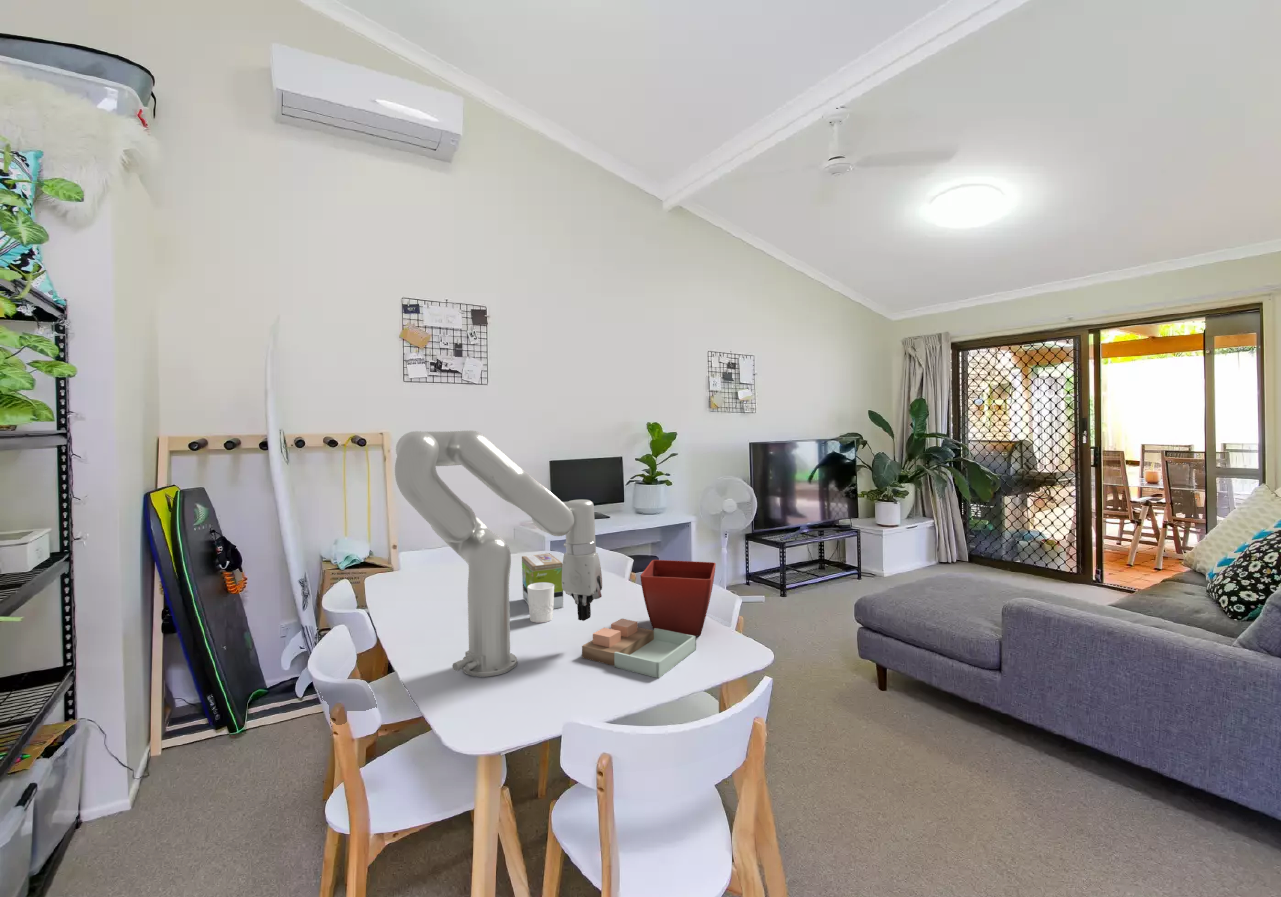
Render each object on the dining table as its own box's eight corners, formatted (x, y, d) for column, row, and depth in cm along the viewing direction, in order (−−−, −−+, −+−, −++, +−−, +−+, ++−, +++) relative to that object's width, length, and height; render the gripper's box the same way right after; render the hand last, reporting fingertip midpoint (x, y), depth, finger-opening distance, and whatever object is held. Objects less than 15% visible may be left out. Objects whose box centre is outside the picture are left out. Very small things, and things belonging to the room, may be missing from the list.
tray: (658, 678, 128) (658, 663, 128) (614, 667, 134) (614, 652, 134) (696, 649, 144) (695, 636, 144) (655, 641, 151) (654, 627, 151)
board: (615, 666, 135) (615, 653, 135) (582, 657, 140) (581, 645, 140) (653, 641, 150) (653, 630, 150) (622, 635, 155) (622, 624, 155)
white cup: (522, 621, 167) (521, 587, 167) (539, 613, 174) (538, 581, 174) (543, 625, 164) (543, 590, 163) (560, 617, 171) (559, 584, 170)
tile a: (609, 647, 139) (609, 637, 139) (592, 643, 141) (592, 633, 141) (620, 640, 143) (620, 631, 143) (604, 637, 146) (604, 627, 145)
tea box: (521, 599, 189) (521, 555, 189) (551, 595, 193) (550, 552, 193) (533, 612, 176) (532, 564, 175) (564, 607, 180) (563, 561, 179)
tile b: (627, 637, 146) (627, 627, 145) (611, 633, 148) (611, 624, 148) (637, 631, 150) (637, 621, 150) (621, 627, 152) (621, 618, 152)
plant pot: (711, 642, 150) (710, 578, 149) (640, 637, 153) (639, 575, 153) (716, 618, 168) (716, 562, 168) (652, 615, 172) (652, 559, 172)
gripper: (549, 549, 146) (552, 619, 147) (596, 554, 139) (599, 628, 139) (567, 543, 153) (570, 610, 154) (613, 547, 145) (616, 618, 146)
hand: (584, 618), depth 147 cm, fingers closed
